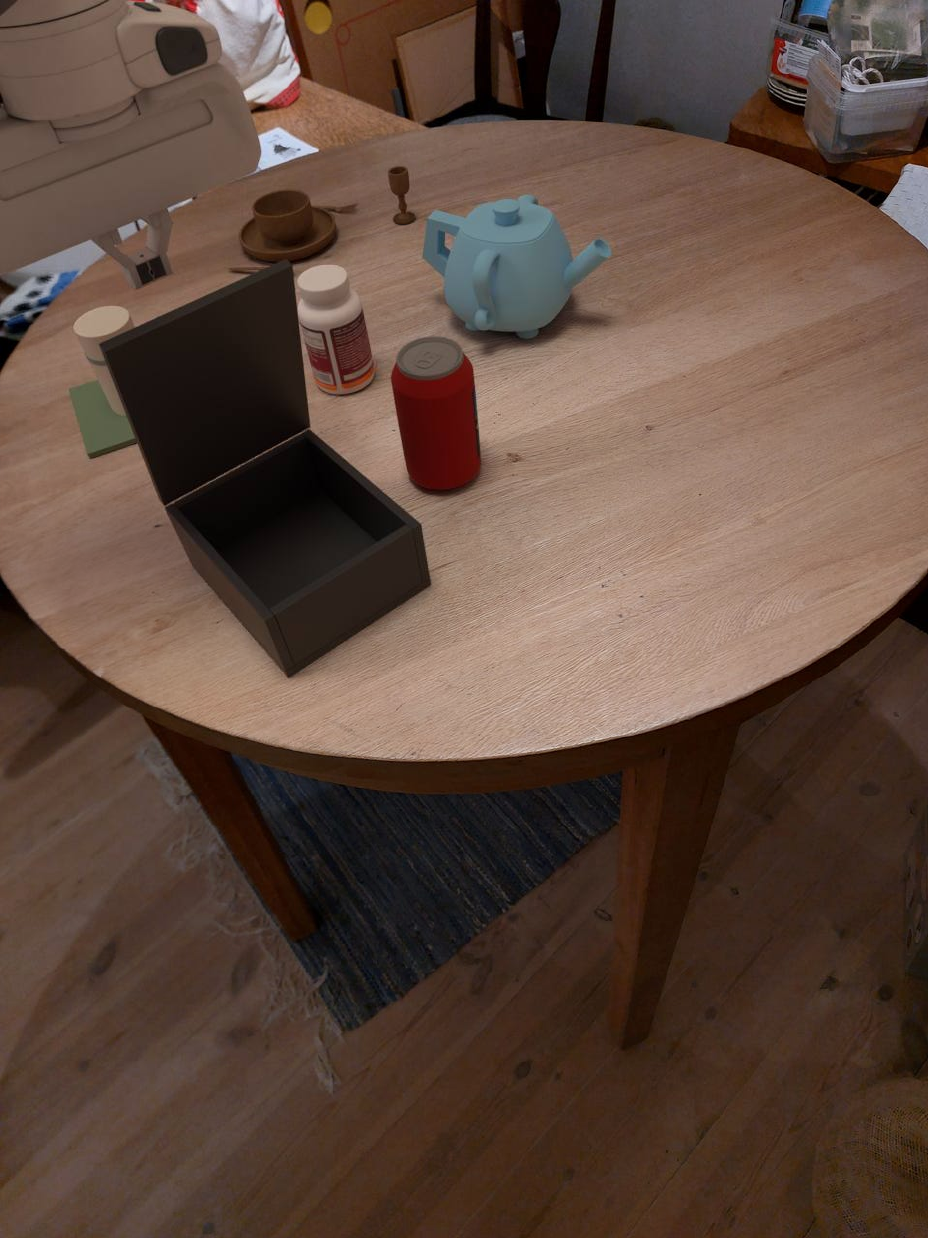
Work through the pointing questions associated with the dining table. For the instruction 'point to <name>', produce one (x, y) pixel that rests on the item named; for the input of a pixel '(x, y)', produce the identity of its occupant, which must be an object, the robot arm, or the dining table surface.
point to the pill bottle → (334, 330)
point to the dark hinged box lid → (213, 380)
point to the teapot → (507, 264)
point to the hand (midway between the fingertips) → (151, 279)
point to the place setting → (302, 222)
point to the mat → (99, 420)
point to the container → (95, 331)
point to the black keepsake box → (301, 548)
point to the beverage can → (437, 412)
